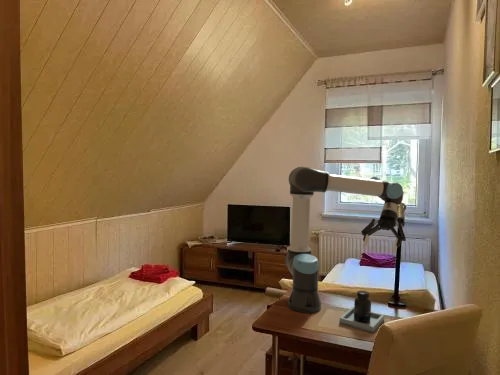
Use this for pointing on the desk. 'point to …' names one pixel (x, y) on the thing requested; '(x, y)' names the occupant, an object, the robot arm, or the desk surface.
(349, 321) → the tray
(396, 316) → the desk surface
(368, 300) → the supplement bottle
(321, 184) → the robot arm
